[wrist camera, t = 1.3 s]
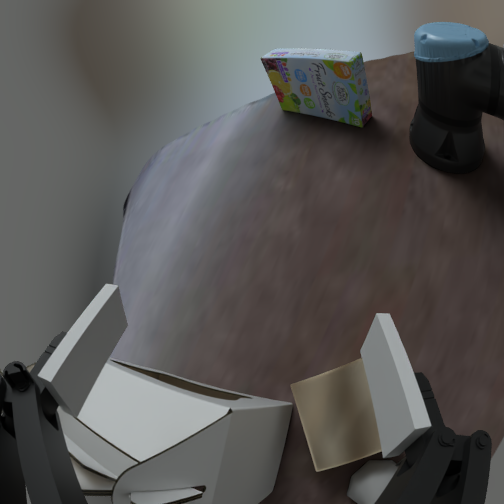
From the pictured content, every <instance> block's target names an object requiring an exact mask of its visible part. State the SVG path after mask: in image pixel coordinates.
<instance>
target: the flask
mask: <svg viewBox="0 0 504 504" xmlns="http://www.w3.org/2000/svg"><path fill="white" fill-rule="evenodd" d="M395 465H396V463H395V462H394V461H392V460H369V461H368V462H367V463H366V464H364V465H363V466H362V467H361V468H360V469H359V470H358V471H357V472H355V473H354V474H353V475H352V476H351V480H350V484H349V488H348V491H347V496H348V497H350V498H351V499H352V500H354V501H355V502H356V503H358V504H374V503H375V502H376V500H377V499H378V498H379V496H380V495H381V493H382V492H383V490H384V489H385V488H386V486H387V485H388V483H389V482H390V480H391V478H392V477H393V475H394V474H395V472H396V470H397V469H398V467H399V465H398V466H395Z"/></svg>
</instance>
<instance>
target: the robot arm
mask: <svg viewBox="0 0 504 504" xmlns="http://www.w3.org/2000/svg"><path fill="white" fill-rule="evenodd" d="M414 41H415V52H414V56H415V58H416V66H417V79H418V98H419V104H418V106H417V109H416V112H415V115H414V118H413V120H412V122H411V124H410V144H411V146H412V148H413V150H414V151H415V153H416V154H417V155H418V156H419V157H420V158H421V159H422V160H423V161H425V162H426V163H428V164H429V165H431V166H433V167H435V168H437V169H440V170H442V171H446V172H450V173H467V172H471V171H473V170H475V169H476V168H477V167H479V165H480V164H481V162H482V159H483V155H484V150H485V144H484V139H483V132H482V124H481V118H482V112H484V113H487V114H490V115H492V116H495V117H498V118H500V119H502V120H504V48H502V47H499V46H496V45H493V44H490V43H489V41H488V39H487V37H486V35H485V34H484V33H483V32H482V31H480V30H478V29H476V28H472V27H470V26H467V25H464V24H459V23H451V22H435V23H429V24H425V25H422V26H421V27H419V28H418V29H417V30H416V32H415V35H414ZM127 326H128V324H127V320H126V316H125V312H124V308H123V304H122V300H121V296H120V291H119V287H118V286H116V285H111V284H106V285H105V286H104V287H103V288H102V290H101V291H100V292H99V293H98V295H97V296H96V297H95V298H94V300H93V301H92V302H91V303H90V304H89V306H88V307H87V308H86V309H85V311H84V312H83V313H82V315H81V316H80V317H79V318H78V320H77V321H76V322H75V324H74V325H73V326H72V328H71V329H70V330H69V332H68V333H66V332H61V333H60V334H59V335H57V336H56V337H55V338H54V339H53V340H52V342H51V343H50V345H49V346H48V347H47V349H46V350H45V352H44V353H43V354H42V355H41V357H40V358H39V360H38V361H37V362H36V364H35V365H34V367H33V368H32V370H31V371H30V372H28V370H27V368H26V367H25V366H24V364H23V363H21V362H19V361H15V362H12V363H9V364H8V365H7V366H6V367H5V369H4V371H3V374H2V376H3V377H4V378H3V377H2V376H1V374H0V504H27V499H26V487H27V491H28V494H29V497H30V500H31V504H88V503H87V501H86V499H85V496H84V494H83V491H82V489H81V486H80V484H79V481H78V478H77V476H76V473H75V470H74V467H73V464H72V461H71V458H70V455H69V452H68V448H67V445H66V441H65V438H64V434H63V430H62V426H61V422H60V418H59V414H58V412H57V408H58V406H60V408H61V409H62V410H63V411H64V412H65V413H67V414H69V415H71V416H73V417H76V418H77V417H78V415H79V413H80V411H81V409H82V407H83V405H84V403H85V401H86V399H87V397H88V395H89V393H90V391H91V390H92V388H93V386H94V384H95V382H96V380H97V378H98V377H99V375H100V373H101V371H102V369H103V367H104V366H105V364H106V362H107V360H108V359H109V357H110V355H111V353H112V351H113V350H114V348H115V346H116V345H117V343H118V341H119V339H120V338H121V336H122V334H123V333H124V331H125V329H126V328H127ZM360 352H361V356H362V360H363V364H364V368H365V372H366V376H367V380H368V384H369V389H370V393H371V398H372V402H373V407H374V412H375V417H376V422H377V427H378V432H379V437H380V443H381V449H382V455H383V458H388V457H394V456H399V455H400V454H401V453H402V452H403V451H405V453H406V456H405V457H404V458H403V459H402V460H400V461H399V462H398V463H397V464H396V465H395V466H398V465H399V467H398V469H397V470H396V472H395V474H394V475H393V477H392V478H391V480H390V482H389V483H388V485H387V486H386V488H385V489H384V490H383V492H382V493H381V495H380V496H379V498H378V499H377V500H376V502H375V503H374V504H484V503H485V498H486V492H487V486H488V479H489V471H490V460H491V446H492V443H491V438H490V436H489V434H488V433H487V432H485V431H483V430H478V431H476V432H474V433H473V434H472V435H471V436H462V435H456V434H455V433H454V431H453V430H452V429H450V428H448V427H445V425H444V423H443V420H442V417H441V414H440V411H439V408H438V405H437V402H436V399H434V394H433V391H432V388H431V386H430V383H429V381H428V379H427V378H426V377H425V376H424V375H423V373H422V372H420V373H414V372H413V370H412V367H411V365H410V362H409V359H408V357H407V354H406V352H405V349H404V347H403V344H402V342H401V339H400V337H399V335H398V332H397V330H396V328H395V325H394V323H393V321H392V318H391V316H390V314H381V313H376V316H375V318H374V320H373V323H372V325H371V328H370V330H369V332H368V335H367V337H366V339H365V342H364V344H363V346H362V348H361V351H360ZM2 411H3V415H2V416H1V414H2ZM25 483H26V486H25Z"/></svg>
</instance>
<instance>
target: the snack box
mask: <svg viewBox="0 0 504 504" xmlns="http://www.w3.org/2000/svg"><path fill="white" fill-rule="evenodd" d="M261 61H262V63H263V65H264V67H265V69H266V72H267V74H268V77H269V78H270V81H271V83H272V86H273V88H274V90H275V93H276V95H277V98H278V100H279V103H280V105H281V108H282V110H286V111H292V112H298V113H303V114H308V115H313V116H317V117H322V118H326V119H331V120H335V121H339V122H343V123H347V124H351V125H354V126H358V127H362V128H363V126H364V125H365V124H366V122H367V121H368V120H369V119H370V118H371V116H372V111H371V103H370V97H369V91H368V85H367V79H366V73H365V68H364V63H363V58H362V54H361V52H353V51H341V50H326V49H273V50H272V51H270V52H269V53H267V54H266V55H265V56H263V57H262V58H261Z"/></svg>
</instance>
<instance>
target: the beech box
mask: <svg viewBox="0 0 504 504" xmlns="http://www.w3.org/2000/svg"><path fill="white" fill-rule="evenodd" d="M291 388H292V392H293V395H294V398H295V402H296V405H297V409H298V412H299V415H300V419H301V422H302V425H303V429H304V432H305V435H306V439H307V442H308V446H309V449H310V452H311V456H312V459H313V462H314V466H315V469H316V472H318V471H322V470H326V469H330V468H333V467H337V466H340V465H343V464H347V463H350V462H353V461H356V460H359V459H362V458H365V457H368V456H370V455H373V454H376V453H378V452H381V451H382V449H381V443H380V437H379V432H378V427H377V422H376V417H375V412H374V407H373V402H372V398H371V393H370V389H369V384H368V380H367V376H366V372H365V368H364V364H363V360H362V358H361V359H358V360H356V361H353V362H351V363H349V364H346V365H344V366H341V367H339V368H336V369H334V370H331V371H328V372H326V373H323V374H320V375H317V376H315V377H312V378H309V379H306V380H303V381H300V382H297V383H294V384H291Z"/></svg>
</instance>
